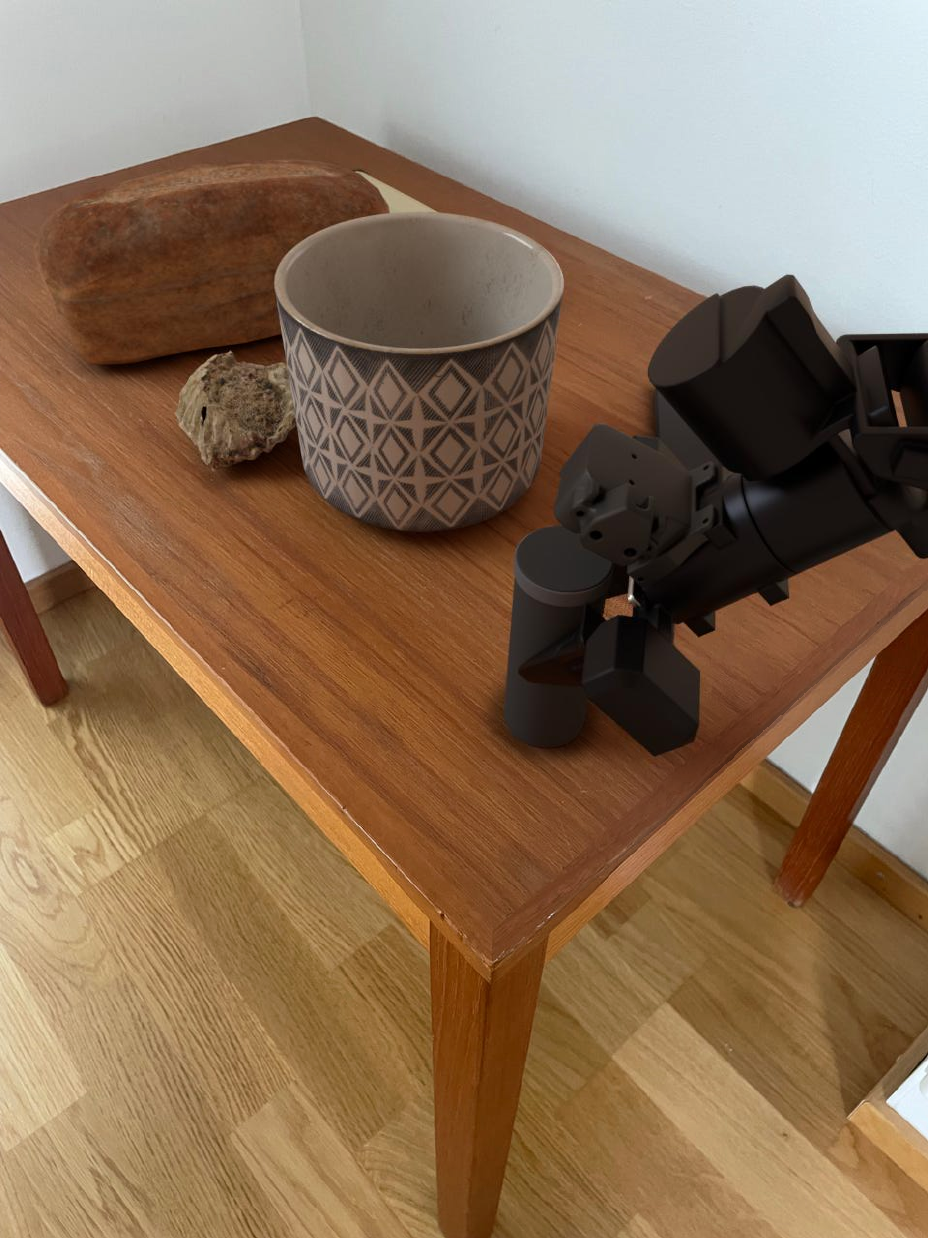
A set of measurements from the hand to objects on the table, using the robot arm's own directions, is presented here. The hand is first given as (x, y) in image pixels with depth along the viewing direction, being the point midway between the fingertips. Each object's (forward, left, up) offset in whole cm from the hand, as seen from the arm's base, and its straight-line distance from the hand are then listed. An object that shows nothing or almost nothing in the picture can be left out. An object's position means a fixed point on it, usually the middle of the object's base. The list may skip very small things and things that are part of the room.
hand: (529, 640), depth 55 cm
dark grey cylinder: (-1, 0, -7) cm, 7 cm away
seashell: (+25, -25, -7) cm, 36 cm away
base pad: (-16, -29, -7) cm, 34 cm away
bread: (+31, -43, -7) cm, 53 cm away
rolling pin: (+15, -59, -7) cm, 61 cm away
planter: (+10, -23, -7) cm, 26 cm away
